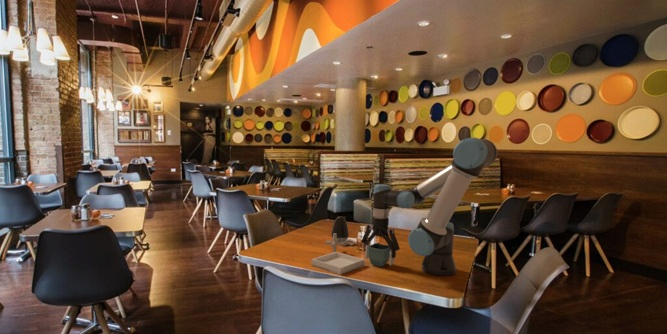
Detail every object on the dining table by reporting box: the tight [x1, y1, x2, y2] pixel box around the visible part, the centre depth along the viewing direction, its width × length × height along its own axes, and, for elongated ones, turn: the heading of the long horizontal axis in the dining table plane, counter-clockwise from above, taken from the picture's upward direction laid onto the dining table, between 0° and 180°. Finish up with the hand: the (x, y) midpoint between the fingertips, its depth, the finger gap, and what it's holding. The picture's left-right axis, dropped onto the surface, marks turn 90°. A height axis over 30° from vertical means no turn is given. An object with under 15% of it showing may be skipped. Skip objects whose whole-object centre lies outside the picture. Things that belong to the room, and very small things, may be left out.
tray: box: [311, 251, 366, 276], centre depth 170 cm, size 18×18×3 cm
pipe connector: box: [324, 233, 345, 253], centre depth 191 cm, size 10×10×10 cm
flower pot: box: [368, 242, 391, 268], centre depth 173 cm, size 9×9×9 cm
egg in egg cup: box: [330, 215, 350, 243], centre depth 213 cm, size 10×10×15 cm
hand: (379, 261), depth 173 cm, fingers open, 13 cm apart
